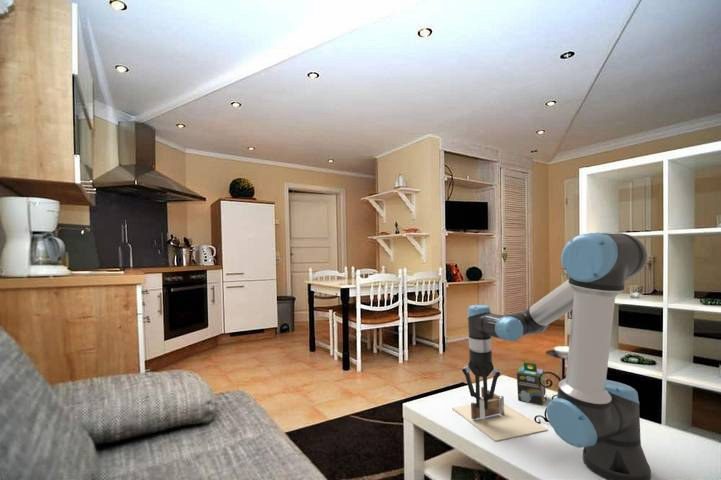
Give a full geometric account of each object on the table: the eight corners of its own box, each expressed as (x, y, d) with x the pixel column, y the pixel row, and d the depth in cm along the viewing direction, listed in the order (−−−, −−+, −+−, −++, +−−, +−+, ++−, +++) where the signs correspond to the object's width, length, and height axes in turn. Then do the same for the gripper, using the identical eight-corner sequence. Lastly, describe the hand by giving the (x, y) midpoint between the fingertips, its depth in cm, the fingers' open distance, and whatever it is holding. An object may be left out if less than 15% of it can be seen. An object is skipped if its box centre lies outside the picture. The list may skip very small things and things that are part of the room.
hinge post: (505, 415, 128) (504, 397, 128) (501, 415, 127) (501, 397, 127) (502, 413, 129) (501, 395, 129) (498, 413, 129) (498, 396, 129)
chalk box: (546, 397, 143) (544, 361, 144) (542, 405, 136) (541, 367, 136) (521, 392, 148) (520, 357, 149) (517, 400, 141) (515, 363, 142)
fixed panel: (500, 413, 130) (500, 396, 130) (498, 414, 129) (497, 396, 130) (484, 403, 139) (483, 386, 139) (481, 403, 139) (481, 387, 139)
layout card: (548, 430, 117) (548, 428, 117) (495, 441, 111) (495, 440, 111) (498, 401, 141) (497, 399, 141) (452, 408, 135) (452, 407, 135)
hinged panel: (497, 412, 128) (497, 397, 128) (499, 413, 127) (499, 399, 127) (471, 417, 124) (470, 403, 125) (473, 419, 123) (473, 404, 123)
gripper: (500, 348, 124) (502, 415, 124) (462, 345, 129) (464, 410, 128) (500, 354, 117) (502, 425, 117) (460, 350, 122) (462, 419, 121)
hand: (482, 417), depth 123 cm, fingers closed
